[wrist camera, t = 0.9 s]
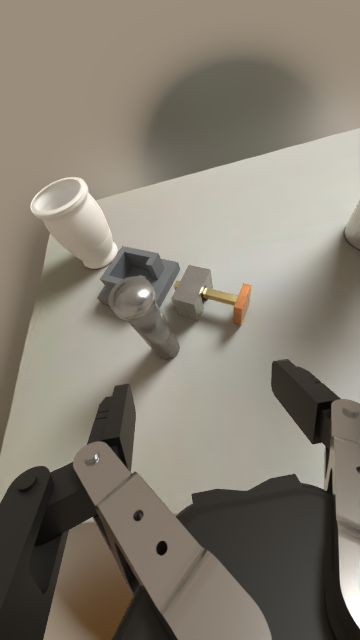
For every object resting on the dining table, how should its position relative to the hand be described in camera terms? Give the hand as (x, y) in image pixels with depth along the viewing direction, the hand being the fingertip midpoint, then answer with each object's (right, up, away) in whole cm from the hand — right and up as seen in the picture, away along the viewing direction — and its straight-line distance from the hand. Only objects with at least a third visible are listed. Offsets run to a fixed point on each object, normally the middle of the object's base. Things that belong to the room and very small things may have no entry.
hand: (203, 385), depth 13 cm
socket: (-9, +10, +33) cm, 36 cm away
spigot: (-3, -1, +26) cm, 26 cm away
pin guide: (+2, +7, +29) cm, 30 cm away
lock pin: (+4, +6, +27) cm, 28 cm away
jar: (-19, +18, +40) cm, 48 cm away
